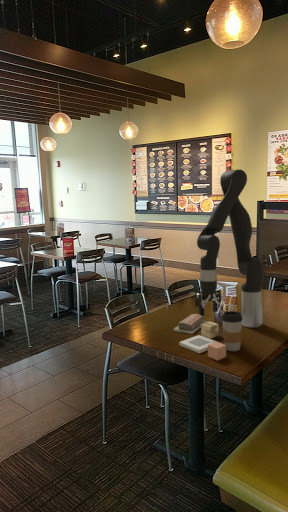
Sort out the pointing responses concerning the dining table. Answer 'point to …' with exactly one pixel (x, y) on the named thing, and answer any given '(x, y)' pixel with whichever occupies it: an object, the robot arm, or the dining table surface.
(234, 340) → the coffee cup
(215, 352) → the terracotta block
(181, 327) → the packaged product
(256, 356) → the dining table surface
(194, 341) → the plate
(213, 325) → the maple block
